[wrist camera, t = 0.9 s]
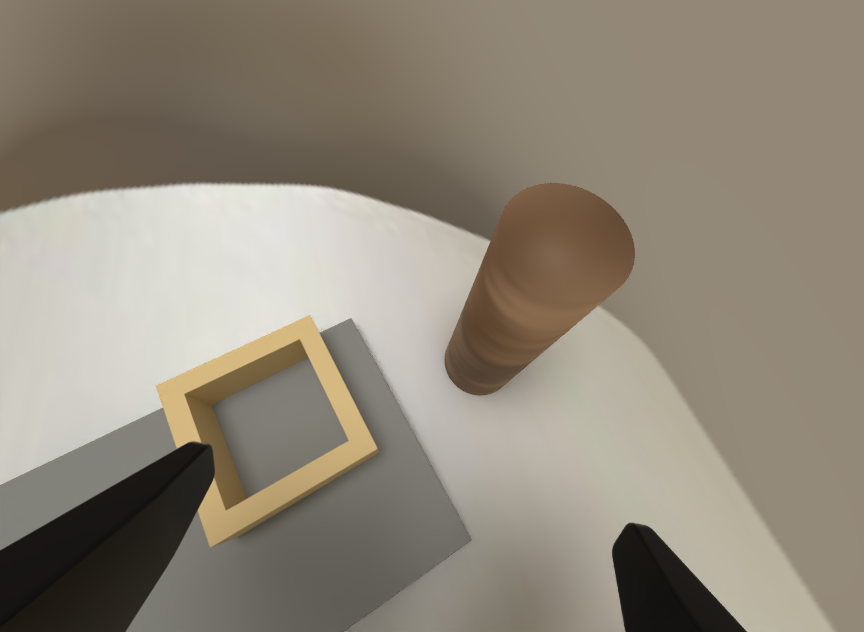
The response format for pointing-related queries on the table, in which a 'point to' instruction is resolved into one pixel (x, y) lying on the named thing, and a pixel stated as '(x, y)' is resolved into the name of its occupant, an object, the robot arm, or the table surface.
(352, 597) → the bracket board
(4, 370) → the table surface
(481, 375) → the walnut post
